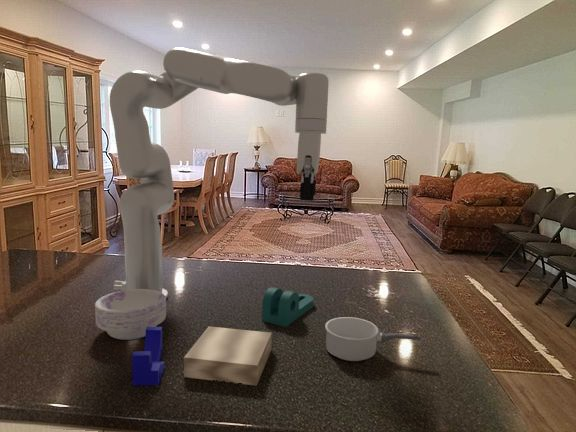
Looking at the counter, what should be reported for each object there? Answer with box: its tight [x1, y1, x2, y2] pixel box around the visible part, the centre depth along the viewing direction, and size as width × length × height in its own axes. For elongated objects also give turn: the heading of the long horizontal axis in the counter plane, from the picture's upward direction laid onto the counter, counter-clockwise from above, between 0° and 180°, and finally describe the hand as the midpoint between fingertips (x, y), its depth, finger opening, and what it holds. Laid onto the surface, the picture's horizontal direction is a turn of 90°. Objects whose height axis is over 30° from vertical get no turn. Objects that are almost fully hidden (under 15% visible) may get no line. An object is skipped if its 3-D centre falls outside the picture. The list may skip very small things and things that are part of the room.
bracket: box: [261, 286, 314, 328], centre depth 115 cm, size 18×7×8 cm, turn 151°
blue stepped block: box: [131, 326, 165, 386], centre depth 85 cm, size 12×4×6 cm, turn 5°
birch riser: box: [183, 325, 273, 386], centre depth 88 cm, size 14×14×4 cm
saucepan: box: [324, 316, 422, 362], centre depth 94 cm, size 12×20×6 cm, turn 77°
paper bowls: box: [94, 289, 167, 341], centre depth 100 cm, size 15×15×8 cm
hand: (307, 197), depth 109 cm, fingers open, 9 cm apart
